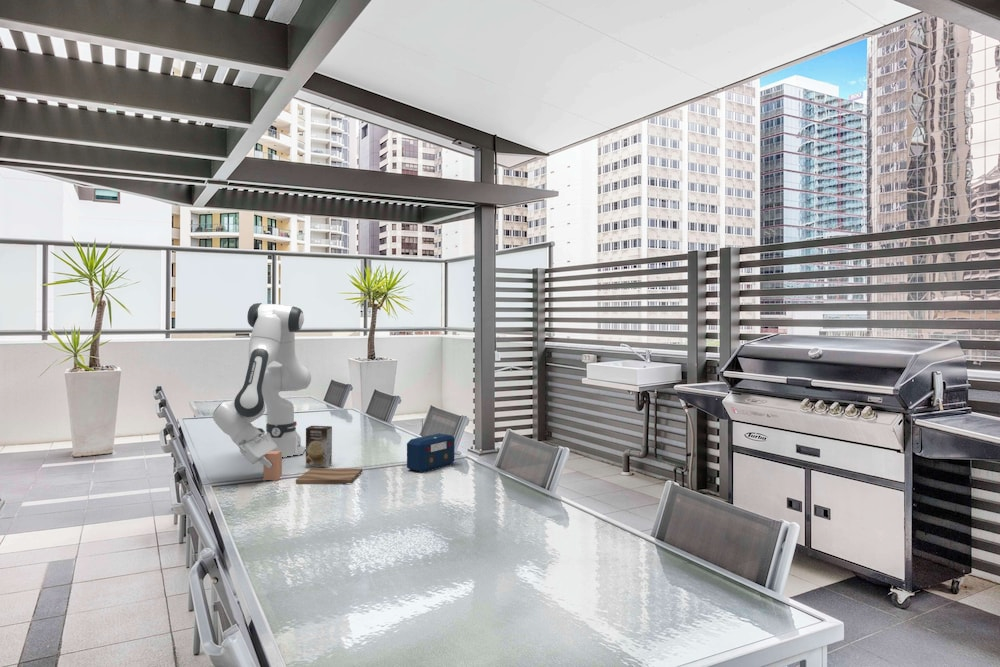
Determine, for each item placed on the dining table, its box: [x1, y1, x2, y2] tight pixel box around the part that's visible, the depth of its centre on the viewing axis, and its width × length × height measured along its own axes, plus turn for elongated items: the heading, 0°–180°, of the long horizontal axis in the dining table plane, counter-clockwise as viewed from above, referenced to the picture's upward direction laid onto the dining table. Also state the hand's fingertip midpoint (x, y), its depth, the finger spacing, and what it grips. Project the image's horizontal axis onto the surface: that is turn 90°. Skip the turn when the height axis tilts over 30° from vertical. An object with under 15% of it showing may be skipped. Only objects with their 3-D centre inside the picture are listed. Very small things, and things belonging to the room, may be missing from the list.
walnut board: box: [295, 467, 363, 485], centre depth 241 cm, size 18×20×2 cm
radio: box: [406, 419, 455, 473], centre depth 258 cm, size 21×9×20 cm, turn 143°
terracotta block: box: [263, 451, 283, 482], centre depth 239 cm, size 5×5×10 cm
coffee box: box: [305, 425, 333, 468], centre depth 260 cm, size 9×6×16 cm
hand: (274, 464), depth 239 cm, fingers closed on terracotta block, 5 cm apart
